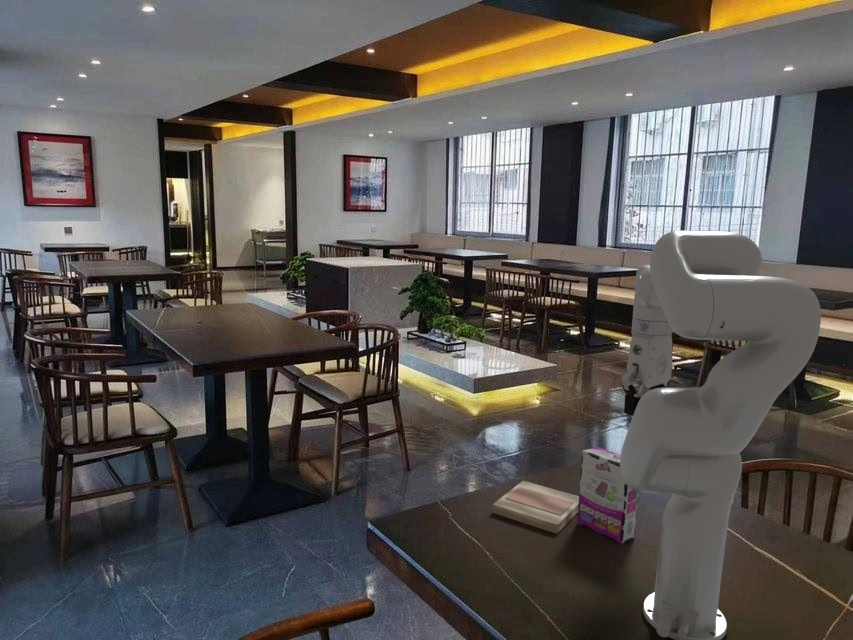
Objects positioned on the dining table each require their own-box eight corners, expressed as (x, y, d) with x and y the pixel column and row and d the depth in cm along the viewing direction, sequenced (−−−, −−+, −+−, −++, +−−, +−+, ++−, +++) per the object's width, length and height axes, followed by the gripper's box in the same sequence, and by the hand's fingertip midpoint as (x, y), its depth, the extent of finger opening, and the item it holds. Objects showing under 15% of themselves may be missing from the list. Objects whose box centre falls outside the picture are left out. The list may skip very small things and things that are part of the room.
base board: (557, 533, 129) (557, 523, 128) (492, 512, 137) (492, 503, 136) (583, 506, 141) (584, 497, 140) (522, 488, 149) (523, 479, 149)
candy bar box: (636, 537, 128) (642, 461, 125) (622, 545, 125) (628, 467, 122) (590, 516, 136) (595, 444, 133) (575, 523, 133) (581, 449, 130)
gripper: (646, 335, 117) (638, 423, 119) (690, 326, 128) (683, 407, 131) (610, 329, 122) (604, 413, 125) (656, 320, 133) (649, 398, 136)
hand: (644, 410), depth 128 cm, fingers open, 9 cm apart
